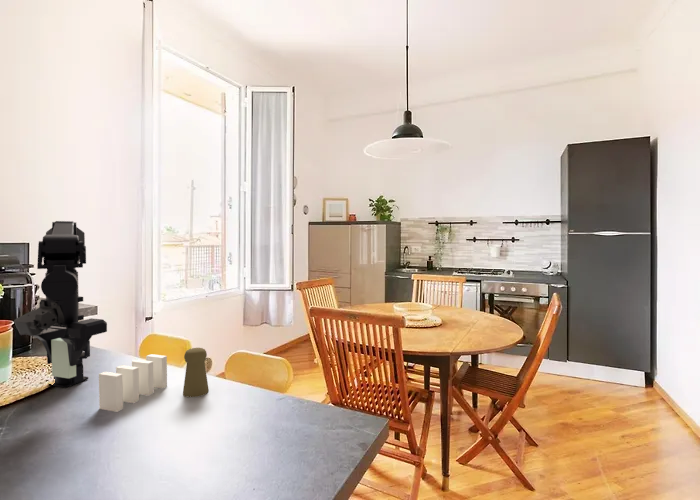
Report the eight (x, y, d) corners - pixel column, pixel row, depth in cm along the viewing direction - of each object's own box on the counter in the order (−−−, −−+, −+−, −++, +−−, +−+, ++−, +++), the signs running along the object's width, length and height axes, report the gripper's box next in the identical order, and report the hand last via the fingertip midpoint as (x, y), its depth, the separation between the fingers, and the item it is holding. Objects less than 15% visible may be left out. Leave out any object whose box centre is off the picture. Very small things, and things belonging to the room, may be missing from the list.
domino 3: (148, 395, 95) (148, 363, 94) (132, 393, 96) (131, 361, 96) (153, 393, 96) (153, 361, 96) (137, 390, 98) (137, 359, 97)
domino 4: (162, 388, 99) (162, 357, 99) (146, 386, 101) (146, 355, 100) (167, 386, 101) (166, 355, 100) (151, 384, 102) (151, 354, 102)
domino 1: (116, 411, 86) (116, 376, 86) (99, 408, 88) (98, 373, 87) (122, 408, 88) (122, 374, 87) (105, 405, 89) (105, 371, 89)
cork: (199, 398, 94) (199, 353, 93) (177, 396, 95) (177, 351, 94) (213, 388, 100) (213, 346, 99) (192, 386, 101) (191, 344, 100)
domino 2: (133, 403, 90) (133, 369, 90) (116, 400, 92) (116, 367, 92) (139, 400, 92) (138, 367, 92) (122, 397, 93) (121, 365, 93)
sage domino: (69, 378, 84) (68, 341, 83) (52, 375, 85) (51, 339, 85) (76, 375, 85) (75, 339, 85) (59, 373, 87) (58, 337, 86)
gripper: (-11, 296, 79) (-9, 372, 80) (56, 302, 74) (58, 382, 75) (45, 289, 90) (47, 356, 91) (108, 293, 85) (109, 364, 85)
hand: (64, 364), depth 85 cm, fingers closed on sage domino, 5 cm apart
